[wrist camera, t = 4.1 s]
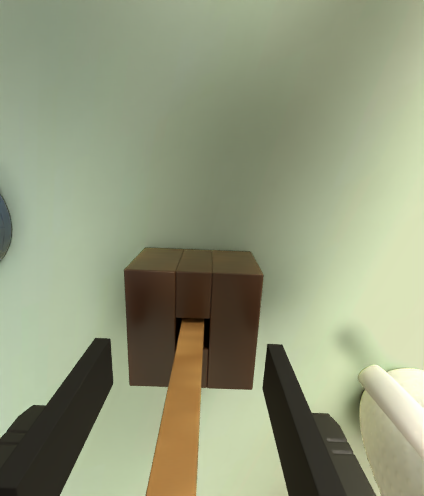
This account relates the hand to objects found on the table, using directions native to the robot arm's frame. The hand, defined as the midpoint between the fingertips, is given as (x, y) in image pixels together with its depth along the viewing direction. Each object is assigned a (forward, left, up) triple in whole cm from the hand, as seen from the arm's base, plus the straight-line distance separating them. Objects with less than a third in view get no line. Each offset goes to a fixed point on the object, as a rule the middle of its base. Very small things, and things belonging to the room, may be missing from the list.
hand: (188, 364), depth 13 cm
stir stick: (0, 0, -8) cm, 8 cm away
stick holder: (0, 0, -8) cm, 8 cm away
